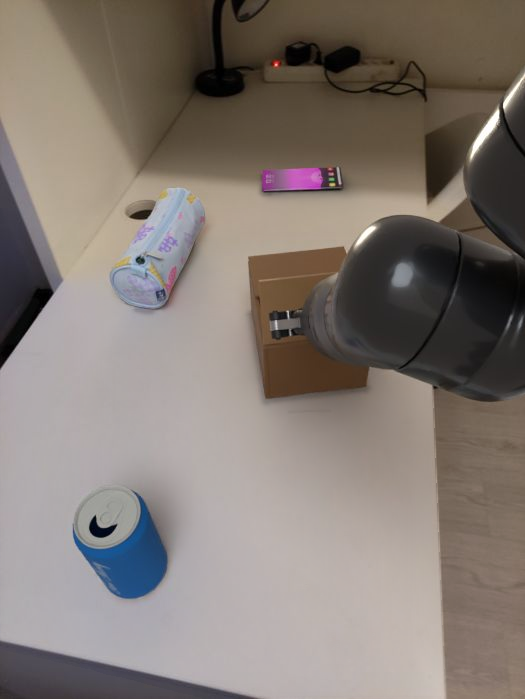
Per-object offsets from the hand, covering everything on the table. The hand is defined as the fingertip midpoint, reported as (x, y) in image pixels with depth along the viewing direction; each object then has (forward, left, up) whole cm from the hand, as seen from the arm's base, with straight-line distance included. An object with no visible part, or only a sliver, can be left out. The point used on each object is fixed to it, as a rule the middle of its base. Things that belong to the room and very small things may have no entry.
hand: (319, 319), depth 59 cm
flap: (+1, 0, +1) cm, 1 cm away
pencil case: (+28, +19, -13) cm, 36 cm away
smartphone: (+50, -7, -13) cm, 52 cm away
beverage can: (-19, +22, -13) cm, 32 cm away
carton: (+8, 0, -13) cm, 15 cm away
